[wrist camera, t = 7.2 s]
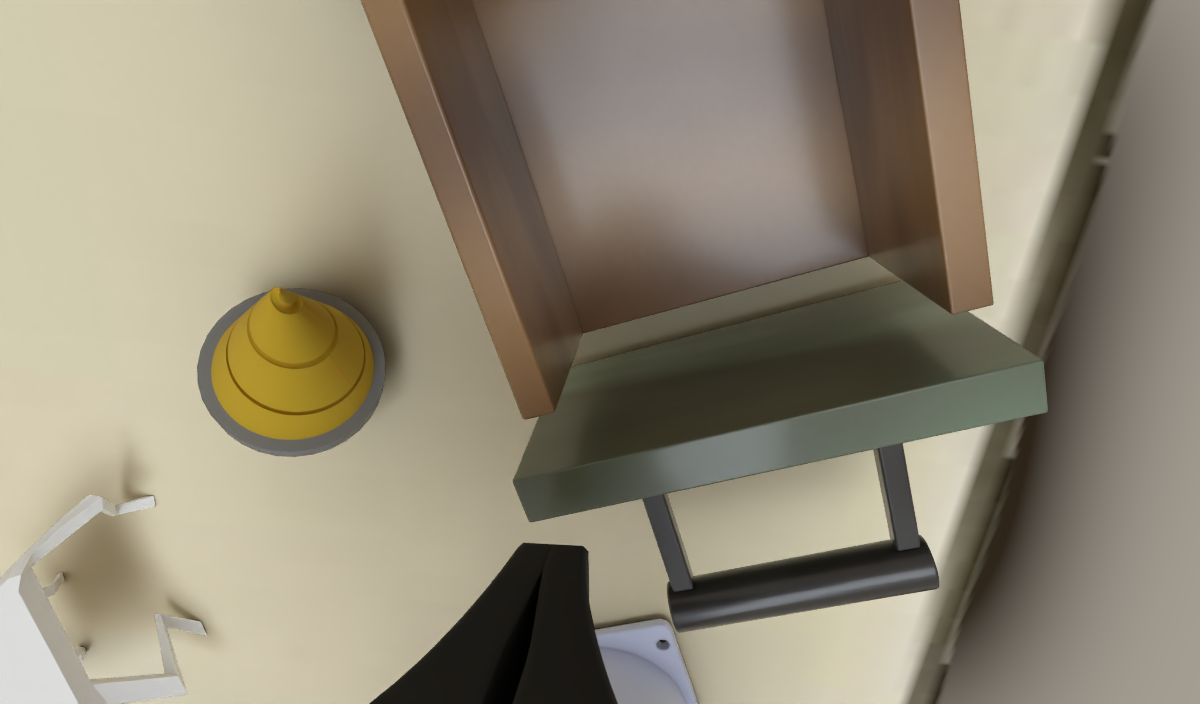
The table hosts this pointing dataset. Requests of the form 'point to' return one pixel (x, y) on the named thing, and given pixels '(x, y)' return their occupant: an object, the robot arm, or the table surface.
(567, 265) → the drawer
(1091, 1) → the table surface
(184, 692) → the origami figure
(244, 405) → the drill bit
